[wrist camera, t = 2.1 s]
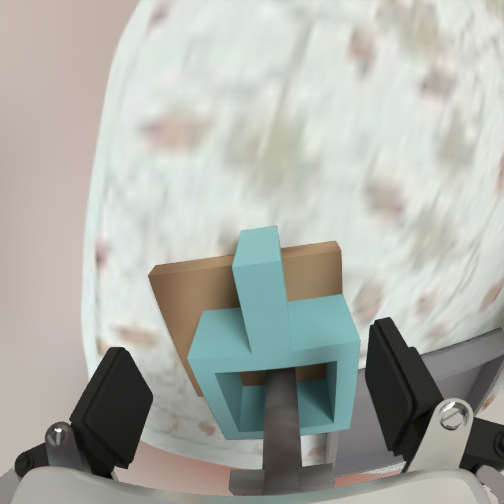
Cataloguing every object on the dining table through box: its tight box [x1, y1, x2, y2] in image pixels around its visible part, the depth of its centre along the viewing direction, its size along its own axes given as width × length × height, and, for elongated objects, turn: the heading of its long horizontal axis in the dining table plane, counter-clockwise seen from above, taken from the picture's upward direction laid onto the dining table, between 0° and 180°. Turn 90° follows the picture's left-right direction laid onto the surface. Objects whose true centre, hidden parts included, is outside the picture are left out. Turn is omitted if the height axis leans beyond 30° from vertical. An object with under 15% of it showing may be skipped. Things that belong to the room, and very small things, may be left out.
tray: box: [325, 328, 504, 478], centre depth 24 cm, size 20×20×3 cm
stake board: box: [148, 241, 342, 496], centre depth 15 cm, size 12×12×12 cm
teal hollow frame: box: [187, 226, 361, 440], centre depth 16 cm, size 9×14×4 cm, turn 10°
